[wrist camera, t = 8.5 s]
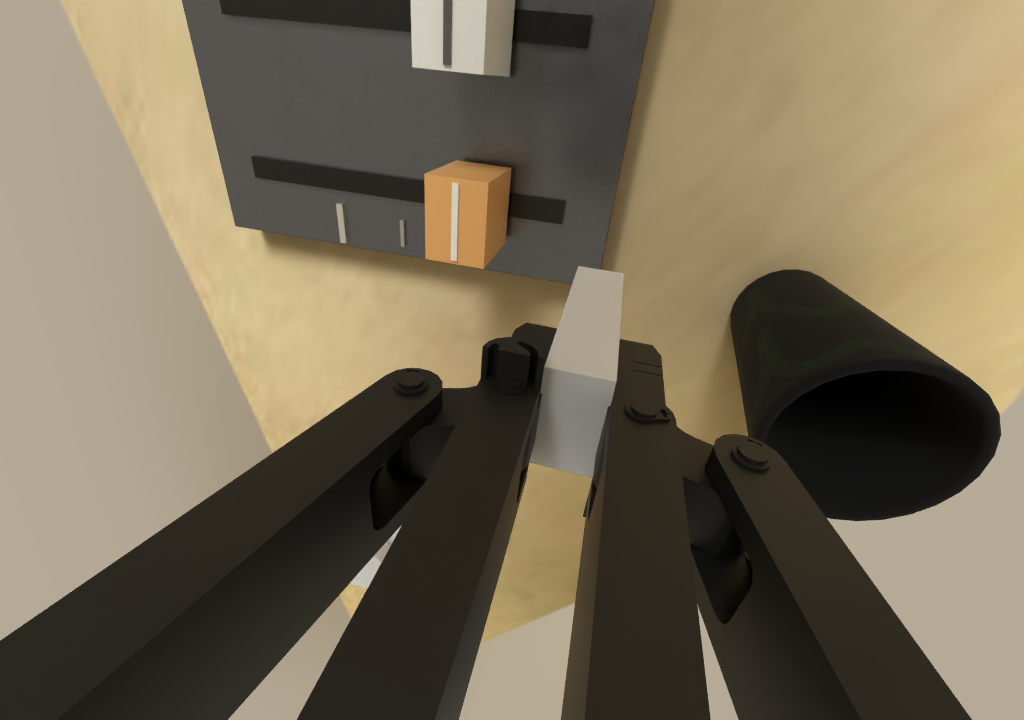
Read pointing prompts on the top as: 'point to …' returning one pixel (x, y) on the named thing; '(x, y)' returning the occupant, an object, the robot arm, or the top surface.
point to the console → (419, 122)
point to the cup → (855, 401)
